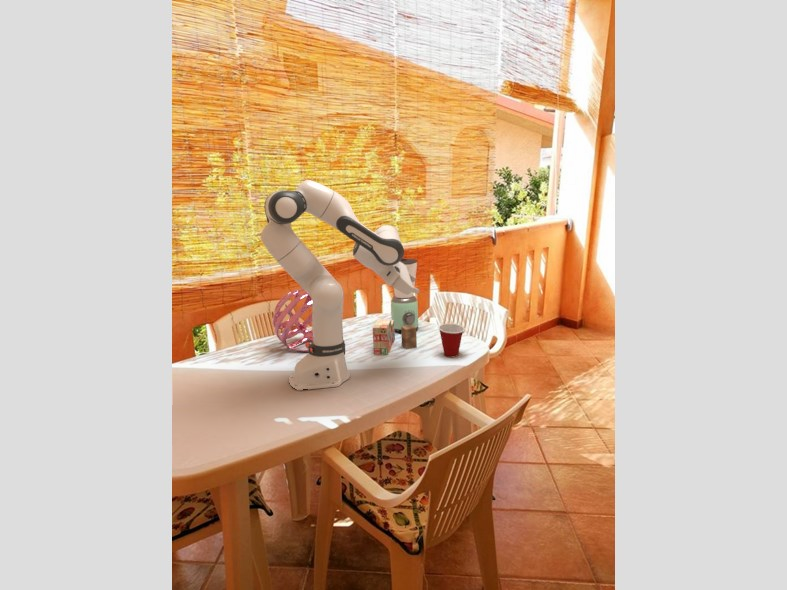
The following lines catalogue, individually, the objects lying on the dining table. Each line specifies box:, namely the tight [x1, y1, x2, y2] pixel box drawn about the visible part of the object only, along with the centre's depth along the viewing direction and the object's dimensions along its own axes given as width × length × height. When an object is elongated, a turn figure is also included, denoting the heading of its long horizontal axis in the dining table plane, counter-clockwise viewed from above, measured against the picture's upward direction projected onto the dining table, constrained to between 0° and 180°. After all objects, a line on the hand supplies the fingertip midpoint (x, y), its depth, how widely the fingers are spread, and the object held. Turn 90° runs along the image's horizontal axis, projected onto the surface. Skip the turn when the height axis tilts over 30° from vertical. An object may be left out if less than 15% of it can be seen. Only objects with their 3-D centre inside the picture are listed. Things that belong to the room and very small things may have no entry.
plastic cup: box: [437, 323, 466, 357], centre depth 202 cm, size 11×11×12 cm
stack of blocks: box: [372, 318, 396, 356], centre depth 215 cm, size 21×6×12 cm, turn 172°
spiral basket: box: [272, 287, 313, 353], centre depth 215 cm, size 28×28×27 cm
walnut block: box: [401, 325, 418, 350], centre depth 214 cm, size 5×5×9 cm
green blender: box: [390, 258, 419, 334], centre depth 236 cm, size 19×13×35 cm
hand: (416, 286), depth 193 cm, fingers open, 8 cm apart
